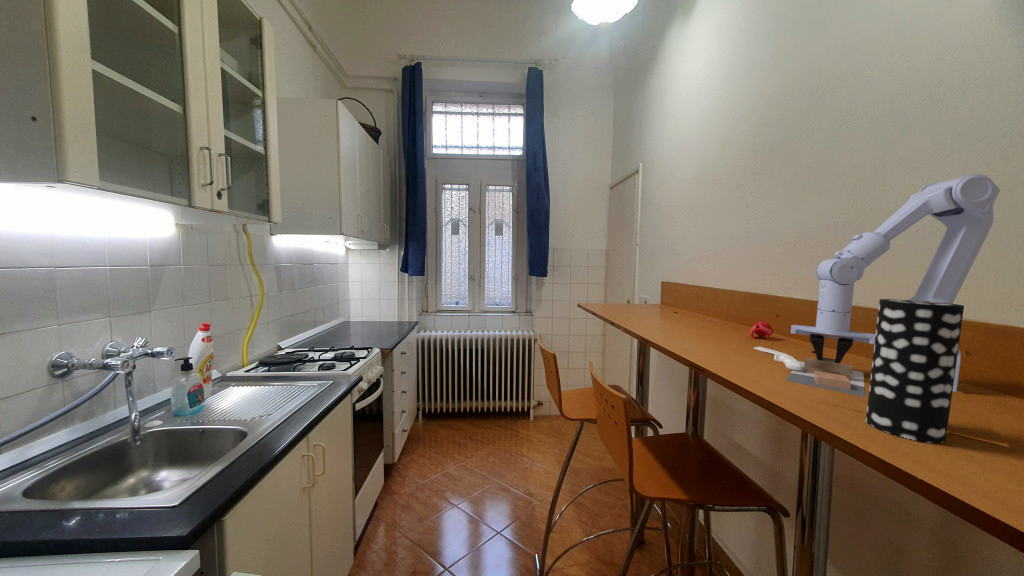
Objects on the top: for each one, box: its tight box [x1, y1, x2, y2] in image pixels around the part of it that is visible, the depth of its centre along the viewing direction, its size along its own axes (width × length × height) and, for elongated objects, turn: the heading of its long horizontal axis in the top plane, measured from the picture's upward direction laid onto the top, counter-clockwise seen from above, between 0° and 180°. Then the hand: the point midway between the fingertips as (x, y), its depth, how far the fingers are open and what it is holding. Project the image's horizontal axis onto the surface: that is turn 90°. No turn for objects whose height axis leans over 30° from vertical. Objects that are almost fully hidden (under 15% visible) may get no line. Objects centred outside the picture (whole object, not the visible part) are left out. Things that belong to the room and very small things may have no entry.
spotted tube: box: [865, 298, 965, 444], centre depth 54 cm, size 8×8×20 cm
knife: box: [753, 346, 802, 371], centre depth 95 cm, size 30×2×8 cm
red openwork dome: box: [748, 321, 774, 341], centre depth 119 cm, size 8×6×6 cm
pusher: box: [804, 357, 854, 381], centre depth 80 cm, size 8×6×3 cm
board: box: [785, 360, 866, 398], centre depth 79 cm, size 12×22×1 cm, turn 136°
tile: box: [814, 371, 851, 390], centre depth 74 cm, size 5×5×2 cm
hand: (827, 368), depth 81 cm, fingers closed on pusher, 2 cm apart
